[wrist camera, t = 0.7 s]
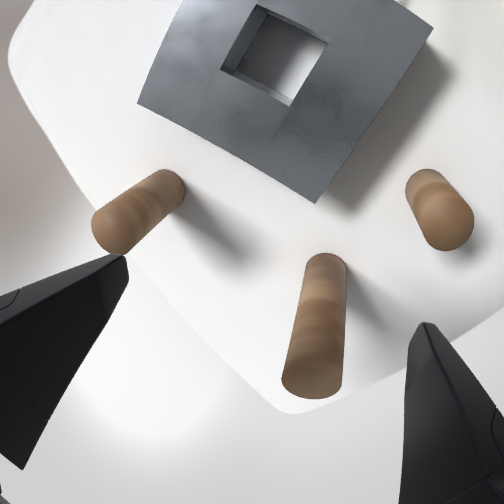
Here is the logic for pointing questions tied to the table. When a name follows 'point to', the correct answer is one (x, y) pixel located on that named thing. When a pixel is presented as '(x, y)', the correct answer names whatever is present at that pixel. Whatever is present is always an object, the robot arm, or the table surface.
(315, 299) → the long dowel
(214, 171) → the table surface
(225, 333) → the table surface
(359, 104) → the hole plate
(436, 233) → the short dowel
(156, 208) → the medium dowel
